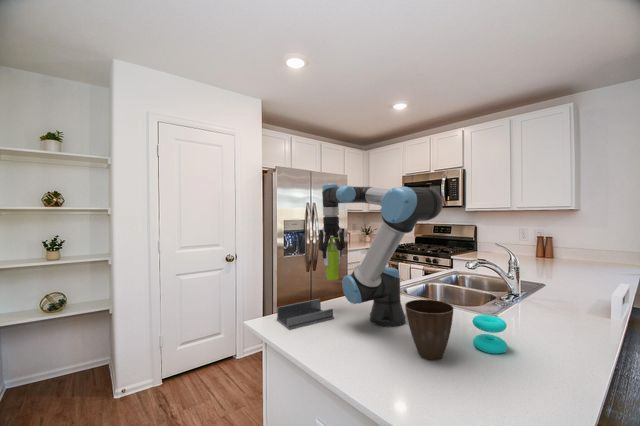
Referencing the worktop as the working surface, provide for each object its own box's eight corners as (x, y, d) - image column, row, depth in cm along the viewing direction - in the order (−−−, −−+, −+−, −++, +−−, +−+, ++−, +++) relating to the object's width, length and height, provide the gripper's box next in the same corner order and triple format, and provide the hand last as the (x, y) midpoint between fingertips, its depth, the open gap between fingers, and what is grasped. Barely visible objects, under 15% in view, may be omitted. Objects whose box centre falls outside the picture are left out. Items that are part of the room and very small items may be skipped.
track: (334, 318, 132) (333, 305, 132) (289, 329, 121) (288, 315, 121) (318, 310, 145) (318, 298, 145) (276, 319, 134) (276, 306, 134)
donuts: (473, 322, 97) (471, 312, 106) (474, 352, 97) (472, 340, 106) (508, 325, 93) (503, 315, 102) (510, 357, 93) (504, 344, 102)
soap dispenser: (339, 280, 138) (338, 237, 138) (325, 279, 139) (323, 237, 139) (341, 277, 143) (340, 236, 143) (327, 277, 145) (326, 236, 145)
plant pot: (401, 345, 104) (400, 299, 104) (444, 344, 104) (442, 298, 104) (414, 366, 89) (412, 314, 89) (463, 365, 89) (461, 312, 89)
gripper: (343, 215, 149) (344, 261, 149) (309, 216, 140) (311, 265, 140) (351, 215, 142) (353, 263, 142) (316, 216, 133) (318, 267, 133)
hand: (332, 264), depth 141 cm, fingers closed on soap dispenser, 6 cm apart
